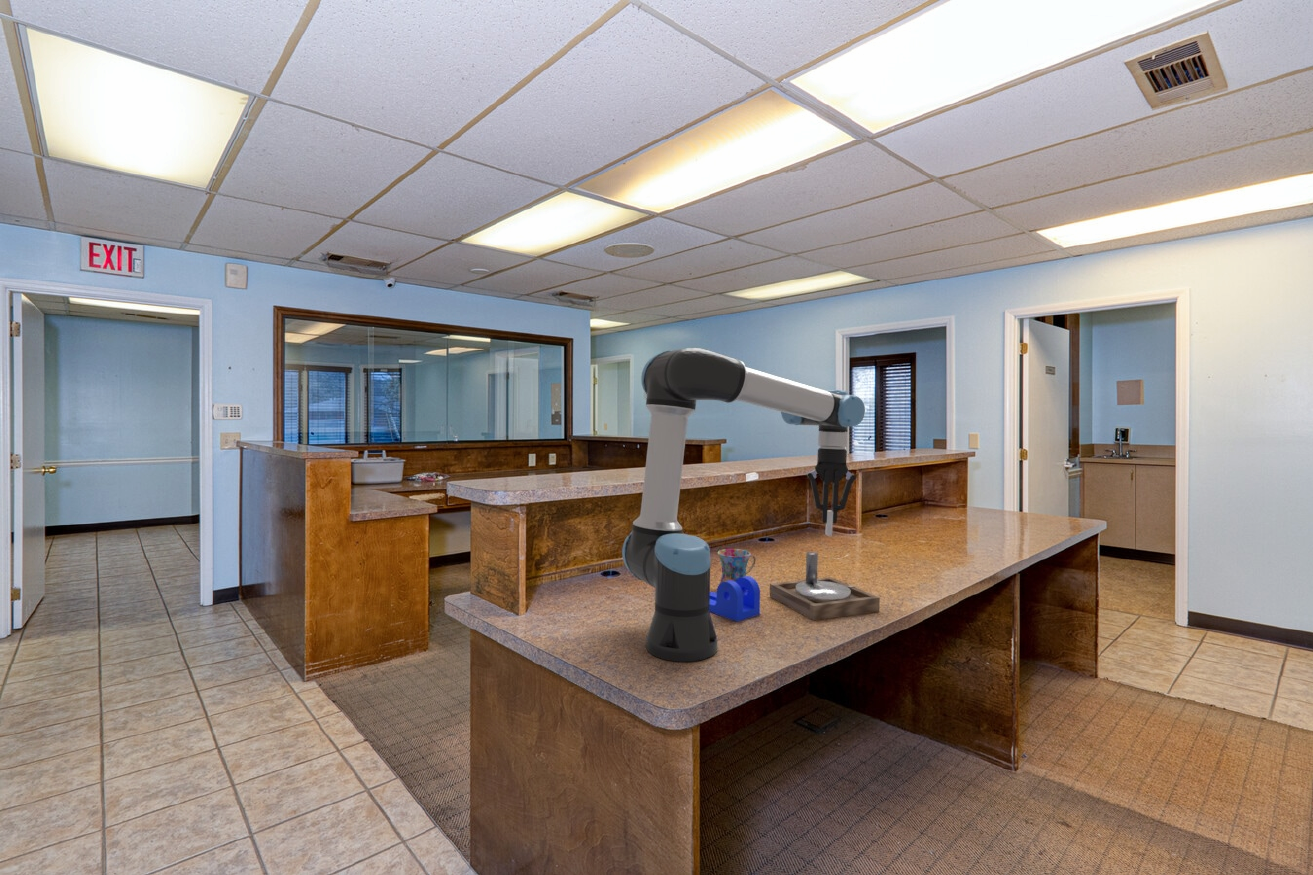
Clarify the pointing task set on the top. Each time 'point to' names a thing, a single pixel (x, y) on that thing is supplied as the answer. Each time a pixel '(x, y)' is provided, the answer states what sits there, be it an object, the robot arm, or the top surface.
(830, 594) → the dial
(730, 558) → the mug
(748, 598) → the bracket
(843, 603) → the dial panel
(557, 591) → the top surface
